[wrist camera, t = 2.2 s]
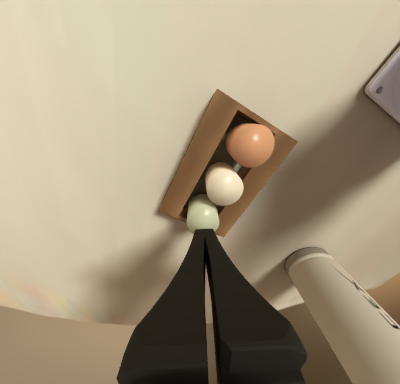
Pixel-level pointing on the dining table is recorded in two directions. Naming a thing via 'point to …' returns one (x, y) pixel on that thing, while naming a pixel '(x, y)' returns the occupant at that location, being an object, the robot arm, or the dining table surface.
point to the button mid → (223, 184)
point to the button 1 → (202, 213)
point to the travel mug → (347, 318)
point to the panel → (202, 152)
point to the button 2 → (250, 144)
